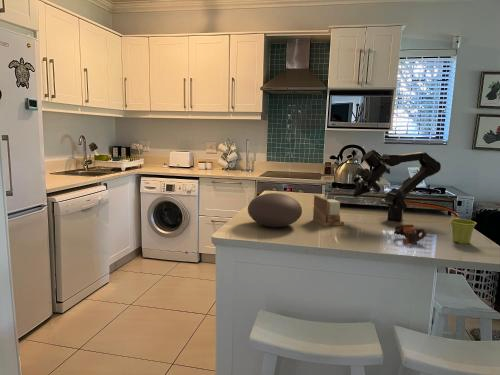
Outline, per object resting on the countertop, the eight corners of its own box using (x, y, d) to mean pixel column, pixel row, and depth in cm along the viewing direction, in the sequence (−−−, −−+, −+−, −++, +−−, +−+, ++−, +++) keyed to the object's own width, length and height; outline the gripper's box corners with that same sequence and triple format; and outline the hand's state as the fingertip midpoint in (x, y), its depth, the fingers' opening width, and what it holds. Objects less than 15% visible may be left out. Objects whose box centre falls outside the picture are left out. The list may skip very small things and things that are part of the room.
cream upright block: (332, 216, 186) (334, 199, 184) (339, 220, 179) (340, 202, 178) (322, 217, 185) (323, 199, 183) (329, 220, 178) (330, 202, 176)
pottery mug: (395, 245, 150) (392, 225, 153) (397, 249, 158) (393, 230, 161) (428, 241, 146) (424, 220, 149) (428, 245, 154) (424, 226, 157)
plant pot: (452, 244, 151) (454, 223, 150) (444, 237, 161) (447, 218, 159) (477, 246, 150) (480, 225, 148) (468, 239, 159) (471, 219, 158)
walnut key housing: (332, 219, 189) (334, 194, 187) (343, 225, 177) (345, 199, 175) (312, 219, 186) (314, 195, 184) (323, 226, 175) (324, 199, 173)
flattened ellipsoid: (291, 235, 158) (292, 201, 155) (238, 228, 168) (238, 195, 165) (307, 223, 180) (309, 192, 177) (259, 216, 190) (260, 187, 188)
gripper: (356, 160, 190) (334, 182, 190) (376, 164, 173) (353, 188, 172) (368, 175, 194) (348, 197, 193) (390, 180, 176) (367, 204, 175)
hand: (353, 196), depth 183 cm, fingers closed
